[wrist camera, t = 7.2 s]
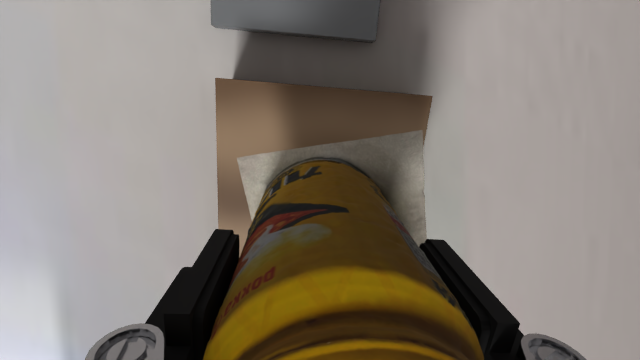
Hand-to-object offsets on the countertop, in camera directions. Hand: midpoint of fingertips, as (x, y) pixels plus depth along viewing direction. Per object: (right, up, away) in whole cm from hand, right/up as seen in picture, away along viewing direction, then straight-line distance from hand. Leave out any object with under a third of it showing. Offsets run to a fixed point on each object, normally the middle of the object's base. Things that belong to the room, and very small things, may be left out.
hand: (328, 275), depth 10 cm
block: (-1, +4, +12) cm, 12 cm away
